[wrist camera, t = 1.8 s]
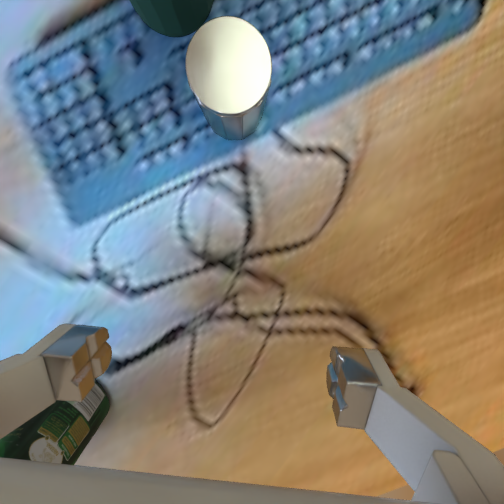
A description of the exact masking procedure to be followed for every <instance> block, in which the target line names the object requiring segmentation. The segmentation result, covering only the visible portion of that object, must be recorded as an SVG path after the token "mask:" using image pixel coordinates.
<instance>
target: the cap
mask: <svg viewBox="0 0 504 504" xmlns="http://www.w3.org/2000/svg"><path fill="white" fill-rule="evenodd" d="M186 74H187V78H188V83H189V86H190V88H191V90H192V92H193V94H194V96H195V98H196V100H197V102H198V104H199V106H200V108H201V110H202V112H203V114H204V116H205V118H206V120H207V122H208V123H209V125H210V126H211V128H212V130H213V131H214V132H215V133H216V134H217V135H219V136H221V137H223V138H224V139H226V140H242V139H245V138H246V137H248V136H249V135H251V134H252V133H254V132H255V131H256V128H257V126H258V124H259V122H260V120H261V118H262V115H263V111H264V107H265V104H266V100H267V96H268V92H269V88H270V85H271V74H272V60H271V55H270V51H269V48H268V45H267V43H266V41H265V39H264V38H263V36H262V35H261V33H260V32H259V31H258V30H257V29H256V28H255V27H254V26H253V25H251V24H250V23H249V22H247V21H245V20H243V19H241V18H238V17H233V16H221V17H217V18H214V19H212V20H209V21H208V22H206V23H205V24H203V25H202V26H201V27H200V28H199V29H198V30H197V31H196V33H195V34H194V36H193V37H192V39H191V41H190V43H189V46H188V49H187V54H186Z"/></svg>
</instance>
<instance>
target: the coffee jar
mask: <svg viewBox="0 0 504 504" xmlns="http://www.w3.org/2000/svg"><path fill="white" fill-rule="evenodd" d="M109 407H110V404H109V400H108V397H107V395H106V393H105V391H104V390H103V388H102V387H101V386H100V385H99V383H98V382H97V381H95V385H94V386H93V388H92V389H91V390H90V392H89V393H88V394H87V395H86V397H85V398H84V399H83V401H82V402H76V401H60V400H56V402H55V403H53V404H52V405H50V406H49V407H47V408H46V409H44V410H43V411H41V412H40V413H38V414H37V415H35V416H34V417H32V418H31V419H30V420H28V421H27V422H25V423H24V424H22V425H21V426H19V427H18V428H16V429H15V430H13V431H12V432H10V433H9V434H7V435H6V436H4V437H3V438H2V439H0V457H2V458H12V459H21V460H31V461H40V462H50V463H59V464H68V465H74V464H75V462H76V461H77V459H78V458H79V456H80V455H81V453H82V452H83V450H84V449H85V447H86V446H87V444H88V443H89V441H90V440H91V438H92V437H93V435H94V434H95V432H96V431H97V429H98V428H99V426H100V425H101V423H102V421H103V420H104V418H105V417H106V415H107V413H108V411H109Z"/></svg>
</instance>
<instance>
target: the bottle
mask: <svg viewBox="0 0 504 504" xmlns="http://www.w3.org/2000/svg"><path fill="white" fill-rule="evenodd" d="M130 2H131V4H132V5H133V7H134V9H135V10H136V12H137V13H138V14H139V15H140V17H141V18H142V20H143V21H144V22H145V23H146V24H147V25H148V26H149V27H150V28H152V29H153V30H155V31H157V32H158V33H160V34H163V35H166V36H171V37H180V36H185V35H188V34H190V33H192V32H194V31H195V30H197V29H198V28H199V27H200V26H201V25H202V24H203V23H204V22H205V20H206V19H207V17H208V15H209V13H210V10H211V7H212V4H213V0H130Z"/></svg>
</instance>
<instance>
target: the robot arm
mask: <svg viewBox="0 0 504 504" xmlns="http://www.w3.org/2000/svg"><path fill="white" fill-rule="evenodd" d="M108 338H109V334H108V329H106V328H104V327H96V326H86V325H75V324H61V325H59V326H58V327H57V328H55V329H54V330H53V331H52V332H50V333H49V334H48V335H46V336H45V337H44V338H43V339H41V340H40V341H39V342H38V343H36V344H35V345H34V346H32V347H31V348H30V349H29V350H27V351H26V352H25V353H23V354H17V355H14V356H11V357H9V358H6V359H4V360H1V361H0V439H2V438H3V437H4V436H6V435H7V434H9V433H10V432H12V431H13V430H15V429H16V428H18V427H19V426H21V425H22V424H24V423H25V422H27V421H28V420H30V419H31V418H32V417H34V416H35V415H37V414H38V413H40V412H41V411H43V410H44V409H46V408H47V407H49V406H50V405H52V404H53V403H55V402H56V400H60V401H76V402H82V401H83V399H84V398H85V397H86V395H87V394H88V393H89V392H90V390H91V389H92V388H93V386H94V385H95V379H96V378H97V377H99V376H101V375H102V374H103V373H104V372H105V371H106V369H107V368H108V366H109V364H110V361H111V356H112V350H111V346H110V345H109V344H108V343H107V342H106V341H107V339H108ZM330 358H331V361H332V362H331V363H330V364H329V365H328V367H327V388H328V393H329V395H330V396H331V397H332V398H333V399H334V400H333V405H332V408H333V412H334V416H335V419H336V423H337V426H340V427H348V428H356V429H364V430H365V432H366V433H367V435H368V436H369V437H370V438H371V439H372V441H373V442H374V443H375V444H376V445H377V447H378V448H379V449H380V450H381V452H382V453H383V454H384V455H385V456H386V458H387V459H388V460H389V461H390V462H391V464H392V465H393V466H394V467H395V468H396V470H397V471H398V472H399V473H400V474H401V476H402V477H403V478H404V479H405V481H406V482H407V483H408V484H409V485H410V487H411V488H412V489H413V490H414V491H415V493H414V495H413V498H412V500H411V501H410V500H400V499H391V498H381V497H373V496H363V495H354V494H344V493H335V492H325V491H316V490H306V489H297V488H287V487H277V486H268V485H258V484H248V483H239V482H229V481H220V480H210V479H200V478H191V477H181V476H172V475H163V474H153V473H144V472H134V471H125V470H116V469H106V468H97V467H87V466H78V465H68V464H59V463H50V462H40V461H31V460H21V459H12V458H2V457H0V504H504V466H503V465H502V463H501V462H500V461H499V459H498V458H497V457H496V455H495V454H493V453H492V452H491V451H489V450H488V449H487V448H485V447H484V446H483V445H481V444H480V443H479V442H477V441H476V440H475V439H473V438H472V437H471V436H469V435H468V434H467V433H465V432H464V431H462V430H461V429H460V428H458V427H457V426H456V425H454V424H453V423H452V422H450V421H449V420H448V419H446V418H445V417H444V416H442V415H441V414H440V413H438V412H437V411H436V410H434V409H433V408H432V407H430V406H429V405H427V404H426V403H425V402H423V401H422V400H421V399H419V398H418V397H417V396H415V395H414V394H413V393H411V392H410V391H409V390H407V389H406V388H401V387H400V386H399V384H398V382H397V381H396V379H395V377H394V376H393V374H392V372H391V371H390V369H389V367H388V365H387V364H386V362H385V360H384V359H383V357H382V355H381V354H380V352H379V351H378V350H377V349H367V348H361V349H360V348H347V347H334V346H333V347H332V349H331V352H330Z"/></svg>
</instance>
